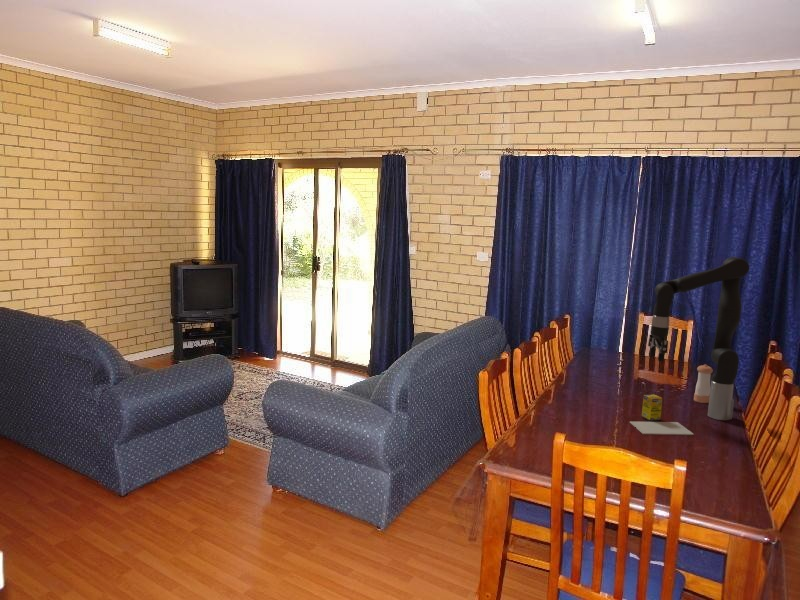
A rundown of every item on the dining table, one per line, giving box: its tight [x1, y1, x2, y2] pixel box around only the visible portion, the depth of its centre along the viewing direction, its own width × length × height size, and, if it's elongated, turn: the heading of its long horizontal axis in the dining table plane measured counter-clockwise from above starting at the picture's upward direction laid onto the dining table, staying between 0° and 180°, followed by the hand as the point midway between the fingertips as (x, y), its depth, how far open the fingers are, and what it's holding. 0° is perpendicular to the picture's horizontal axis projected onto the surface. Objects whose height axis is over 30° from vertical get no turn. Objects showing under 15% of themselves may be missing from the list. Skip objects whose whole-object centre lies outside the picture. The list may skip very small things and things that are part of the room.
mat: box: [629, 421, 695, 436], centre depth 253 cm, size 22×14×1 cm, turn 91°
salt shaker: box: [693, 363, 714, 404], centre depth 292 cm, size 7×7×19 cm
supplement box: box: [641, 393, 663, 422], centre depth 264 cm, size 6×6×11 cm
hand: (656, 358), depth 272 cm, fingers open, 8 cm apart
